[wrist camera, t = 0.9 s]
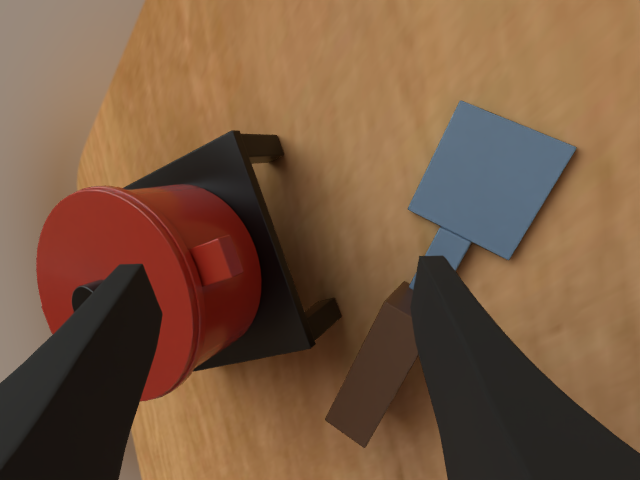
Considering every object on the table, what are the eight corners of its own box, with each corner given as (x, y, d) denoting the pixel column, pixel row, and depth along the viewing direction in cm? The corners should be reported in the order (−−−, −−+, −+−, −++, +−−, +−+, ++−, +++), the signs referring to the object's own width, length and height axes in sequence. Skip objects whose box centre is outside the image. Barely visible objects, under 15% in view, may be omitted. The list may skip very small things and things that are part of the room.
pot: (355, 316, 25) (247, 418, 15) (197, 351, 30) (50, 441, 21) (288, 127, 24) (136, 116, 15) (141, 199, 30) (-34, 224, 21)
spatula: (407, 427, 24) (389, 466, 21) (329, 374, 26) (301, 404, 23) (576, 147, 18) (584, 148, 15) (461, 100, 20) (448, 93, 17)
